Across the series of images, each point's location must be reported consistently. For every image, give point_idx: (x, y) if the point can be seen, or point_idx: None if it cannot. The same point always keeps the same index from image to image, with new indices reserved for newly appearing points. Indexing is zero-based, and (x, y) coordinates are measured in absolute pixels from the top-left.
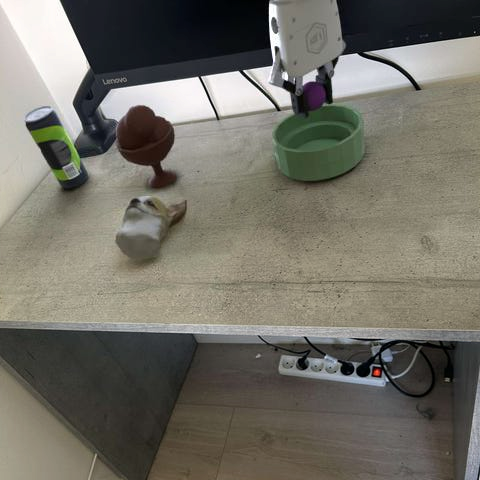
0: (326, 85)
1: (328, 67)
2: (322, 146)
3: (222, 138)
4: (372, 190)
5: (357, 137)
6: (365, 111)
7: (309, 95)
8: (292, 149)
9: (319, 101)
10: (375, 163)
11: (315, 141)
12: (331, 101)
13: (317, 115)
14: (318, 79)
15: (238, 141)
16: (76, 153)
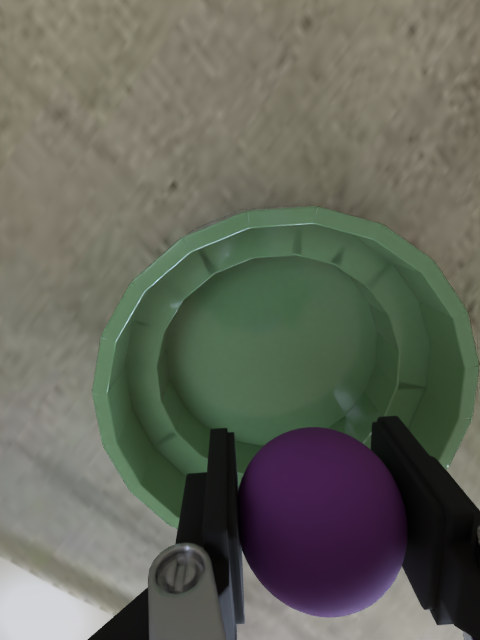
0: (235, 513)
1: (198, 634)
2: (235, 390)
3: (378, 633)
4: (281, 53)
5: (210, 224)
6: (12, 456)
7: (388, 498)
8: (462, 343)
9: (325, 437)
10: (171, 184)
11: (232, 429)
12: (220, 433)
13: None
14: (242, 598)
15: None
16: None
